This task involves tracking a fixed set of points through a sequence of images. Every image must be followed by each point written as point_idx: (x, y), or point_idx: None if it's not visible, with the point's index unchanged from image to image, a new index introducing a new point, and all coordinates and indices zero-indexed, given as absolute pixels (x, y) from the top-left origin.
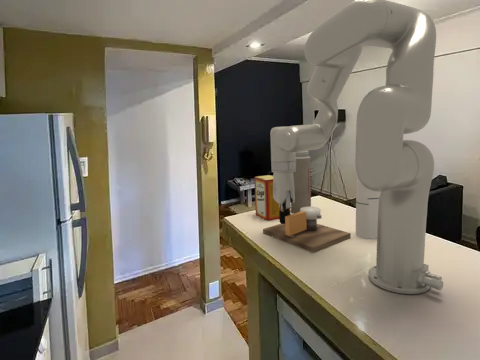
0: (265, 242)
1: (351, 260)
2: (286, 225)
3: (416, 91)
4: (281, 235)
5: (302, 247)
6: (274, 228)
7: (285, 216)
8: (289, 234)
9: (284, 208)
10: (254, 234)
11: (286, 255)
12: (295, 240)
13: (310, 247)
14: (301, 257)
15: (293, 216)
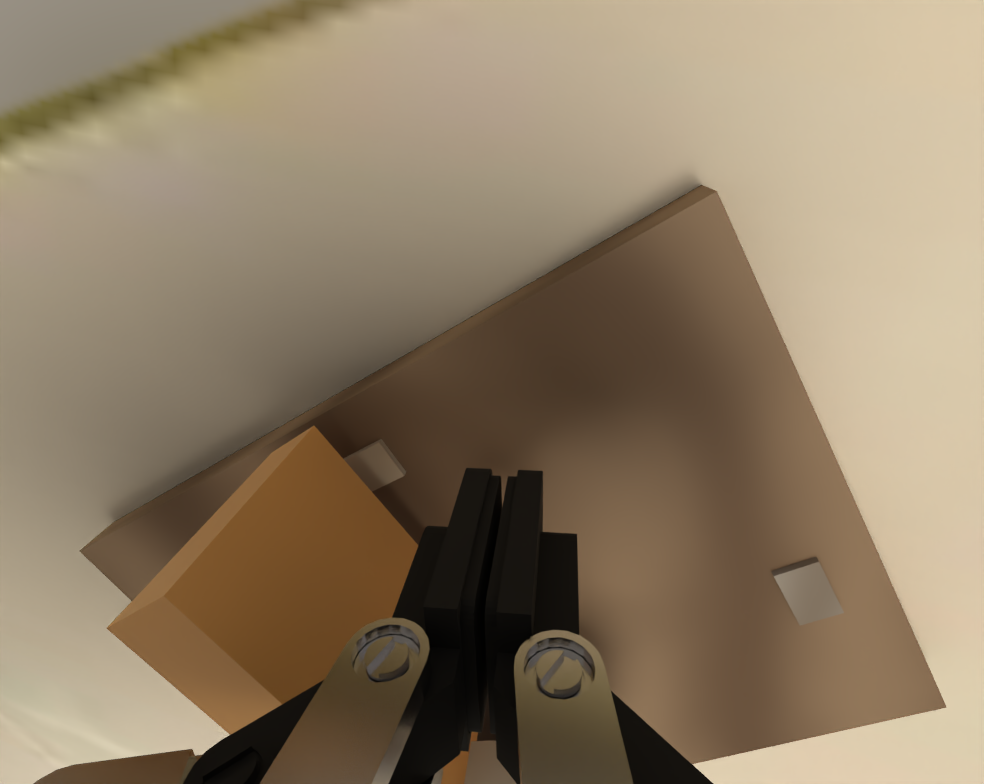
0: (356, 160)
1: (31, 657)
2: (238, 504)
3: None
4: (392, 382)
5: (188, 481)
6: (675, 363)
7: (162, 598)
8: (264, 461)
9: (222, 740)
10: (701, 34)
11: (28, 309)
12: (235, 472)
13: (110, 531)
14: (13, 414)
15: (196, 692)
